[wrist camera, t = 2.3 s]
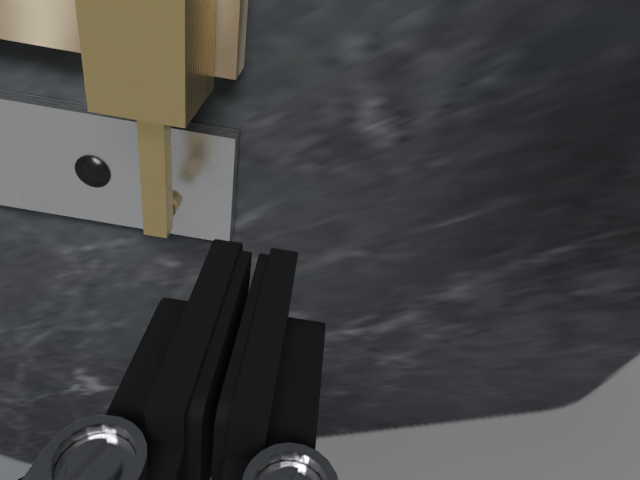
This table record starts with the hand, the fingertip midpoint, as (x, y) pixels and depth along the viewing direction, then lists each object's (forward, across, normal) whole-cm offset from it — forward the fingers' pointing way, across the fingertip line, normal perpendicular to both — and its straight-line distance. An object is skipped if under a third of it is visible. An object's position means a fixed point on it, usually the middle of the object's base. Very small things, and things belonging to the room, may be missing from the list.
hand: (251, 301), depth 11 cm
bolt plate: (+19, +16, +8) cm, 26 cm away
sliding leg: (+17, +7, +3) cm, 18 cm away
